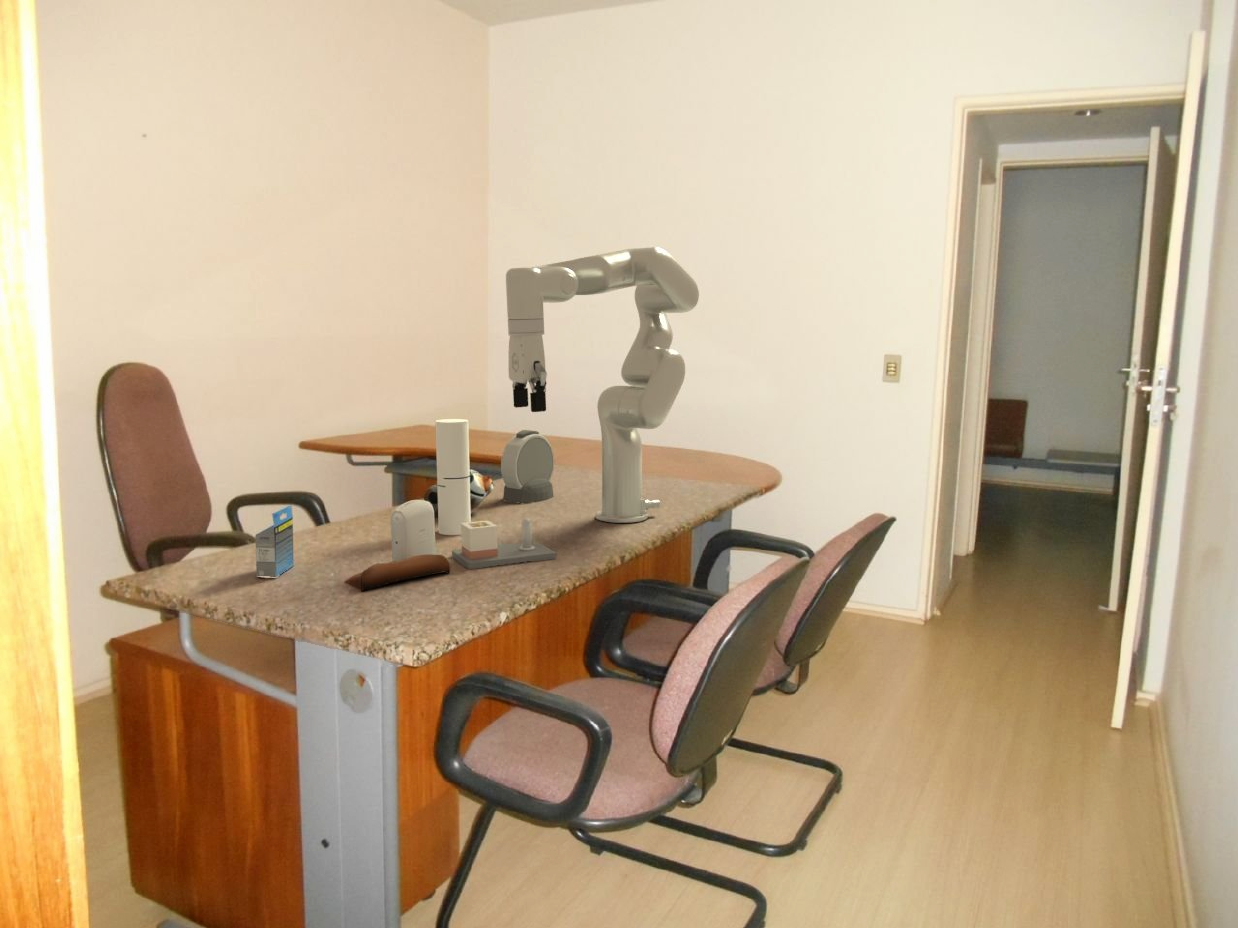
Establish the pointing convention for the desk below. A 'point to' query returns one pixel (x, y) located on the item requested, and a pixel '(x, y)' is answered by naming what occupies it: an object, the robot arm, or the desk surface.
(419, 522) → the photo printer
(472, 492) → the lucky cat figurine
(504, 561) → the pin board
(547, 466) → the alarm clock
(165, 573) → the desk surface
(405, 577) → the sunglasses case
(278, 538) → the label tape box
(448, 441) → the cylindrical container
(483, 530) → the sleeve
